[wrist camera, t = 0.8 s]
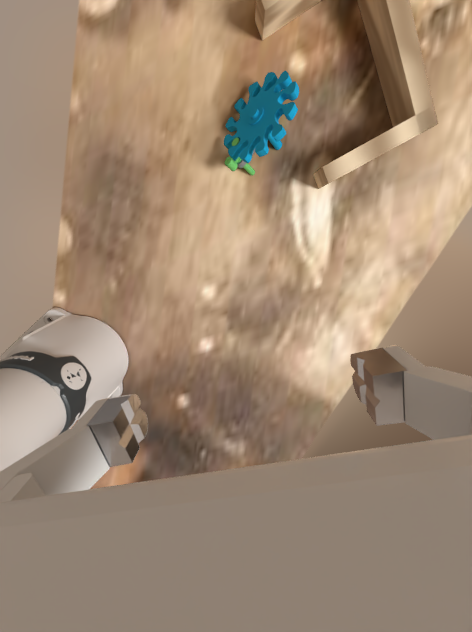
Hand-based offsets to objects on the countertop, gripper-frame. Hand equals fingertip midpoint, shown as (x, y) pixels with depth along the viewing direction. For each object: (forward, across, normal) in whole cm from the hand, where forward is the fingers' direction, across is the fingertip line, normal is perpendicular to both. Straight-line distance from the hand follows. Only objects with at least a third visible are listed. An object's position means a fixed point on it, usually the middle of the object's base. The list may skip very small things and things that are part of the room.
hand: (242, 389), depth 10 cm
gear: (+32, +5, +17) cm, 36 cm away
